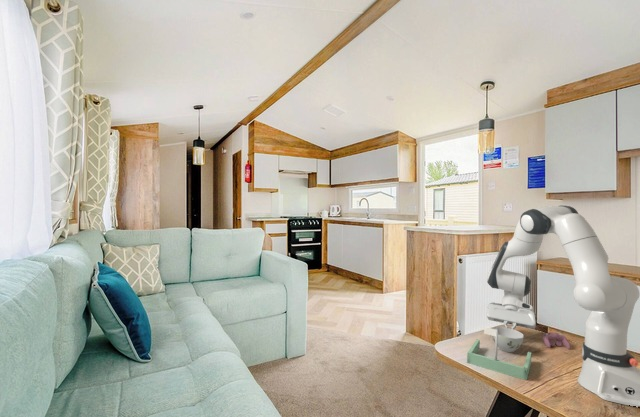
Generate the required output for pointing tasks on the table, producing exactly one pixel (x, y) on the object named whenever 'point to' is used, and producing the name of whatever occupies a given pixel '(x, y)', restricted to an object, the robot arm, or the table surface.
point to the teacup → (508, 339)
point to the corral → (496, 364)
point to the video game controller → (558, 337)
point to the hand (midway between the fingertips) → (508, 331)
